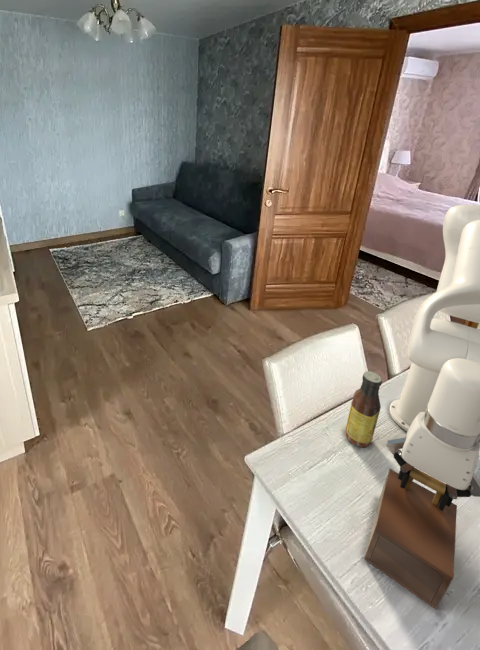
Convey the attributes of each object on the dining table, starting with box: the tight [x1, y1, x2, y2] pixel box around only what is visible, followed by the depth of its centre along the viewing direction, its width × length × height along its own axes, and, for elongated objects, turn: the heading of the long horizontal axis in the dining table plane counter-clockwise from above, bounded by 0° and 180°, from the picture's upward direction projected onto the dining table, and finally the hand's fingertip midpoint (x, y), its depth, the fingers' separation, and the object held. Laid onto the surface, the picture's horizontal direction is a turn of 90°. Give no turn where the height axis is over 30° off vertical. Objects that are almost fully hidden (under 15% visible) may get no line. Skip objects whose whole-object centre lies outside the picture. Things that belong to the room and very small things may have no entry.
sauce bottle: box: [344, 370, 383, 448], centre depth 86 cm, size 7×6×20 cm
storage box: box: [363, 477, 452, 610], centre depth 65 cm, size 13×11×9 cm
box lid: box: [375, 467, 458, 582], centre depth 63 cm, size 14×11×6 cm
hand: (421, 492), depth 67 cm, fingers closed on box lid, 5 cm apart
